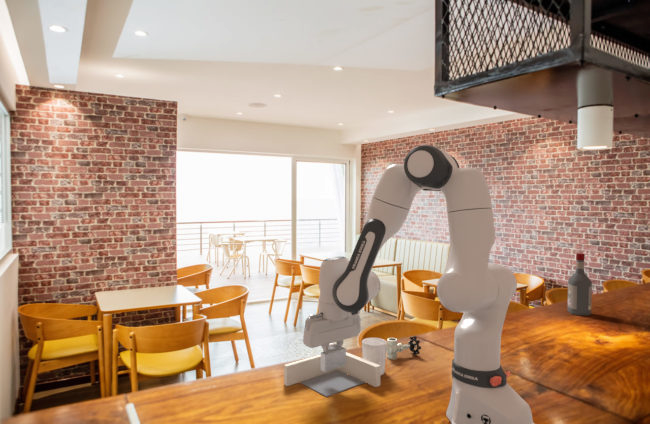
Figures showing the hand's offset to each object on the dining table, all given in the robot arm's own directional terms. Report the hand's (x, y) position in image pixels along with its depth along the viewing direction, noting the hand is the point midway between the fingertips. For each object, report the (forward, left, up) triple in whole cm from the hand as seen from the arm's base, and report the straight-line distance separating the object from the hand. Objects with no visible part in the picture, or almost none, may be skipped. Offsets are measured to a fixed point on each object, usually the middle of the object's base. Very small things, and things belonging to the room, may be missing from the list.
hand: (332, 355), depth 131 cm
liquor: (-15, -152, -8) cm, 153 cm away
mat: (0, 0, -8) cm, 8 cm away
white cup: (-2, -16, -8) cm, 18 cm away
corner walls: (-1, +1, -8) cm, 8 cm away
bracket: (-1, +2, -2) cm, 3 cm away
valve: (+1, -34, -9) cm, 35 cm away
